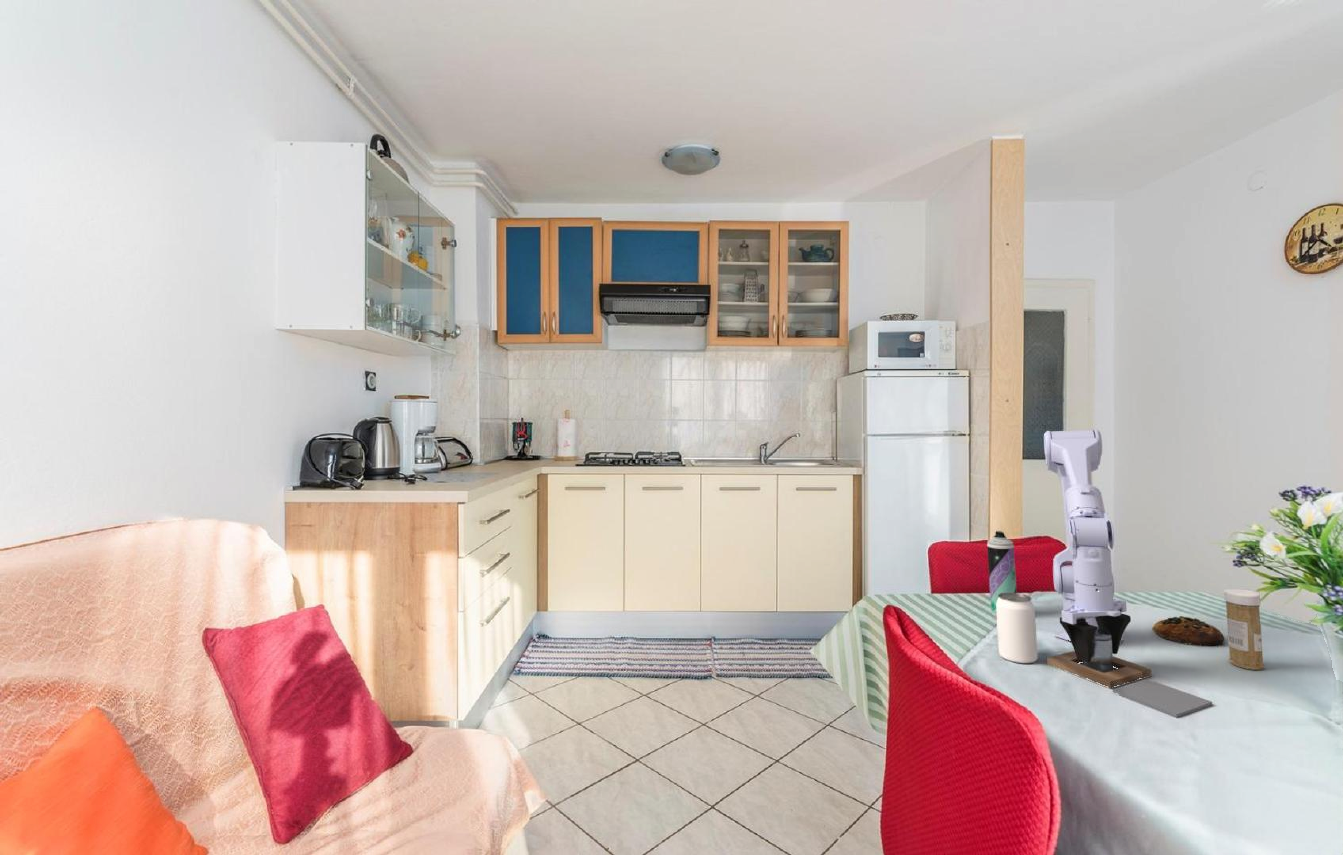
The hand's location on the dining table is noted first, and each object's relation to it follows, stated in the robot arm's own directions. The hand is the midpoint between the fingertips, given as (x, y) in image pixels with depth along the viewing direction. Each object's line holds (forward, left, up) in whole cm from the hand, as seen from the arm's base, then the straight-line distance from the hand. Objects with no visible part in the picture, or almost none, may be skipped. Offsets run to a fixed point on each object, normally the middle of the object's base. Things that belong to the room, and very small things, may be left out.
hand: (1097, 655), depth 101 cm
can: (+7, -10, -3) cm, 13 cm away
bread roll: (-31, -2, -3) cm, 31 cm away
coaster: (+2, +11, -3) cm, 11 cm away
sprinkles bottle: (-24, +10, -3) cm, 26 cm away
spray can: (-11, -28, -3) cm, 30 cm away
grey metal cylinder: (0, 0, -3) cm, 3 cm away
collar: (0, 0, -3) cm, 3 cm away
